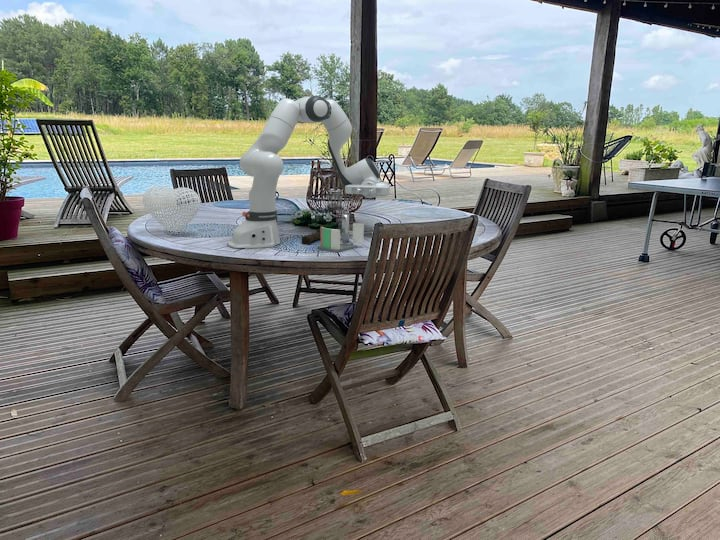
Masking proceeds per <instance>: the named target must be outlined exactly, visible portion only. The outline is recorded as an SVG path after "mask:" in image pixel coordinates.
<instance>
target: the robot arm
mask: <svg viewBox="0 0 720 540" xmlns="http://www.w3.org/2000/svg"><path fill="white" fill-rule="evenodd" d="M319 122H320V123H321V124H322V125H323V126H324V129H325V131H326V132H327V134H328V138H329V139H328V140H327V148H328V150H329V151H328V152H329V154H330V156H331V159H332V161H333V164H334V166H335V169H336V171H337V174H338V178H339V181H340V183H341V185H342V186H343V187H344V193H345V194H346V195H350V194H351V195H362V196H363V197H364V198H366V199H374V198H378V197H389V196H390V194H391V193H390V192H391V191H390V183H389V181H383V180H382V179H381V177H380V176H381V173H380V172H381V171H380V168H379V167H378V165H377V164H376V162H375V161H374V159H373V160H372V159H370V158H367V157H365V158H363V159H361V160H360V161H359V160H358V162H356V163H354V164H352V165H350V166H348V167H347V166H345V163H344V160H343V158H342V156H341V150H342V148H343V147H344V145H346V143H347V142H348V141H349V139H350V138H351V135H352V132H353V126H352V123H351V122H350V119H349V118H348V115H347V114H346V112H345V111H344V110H343V108H342V107H341V106H340V105H339V104H338V103H337V101H336V100H334V99H332V98H329V99H325V97H322V96H319V95H312V96H303V97H301V98H297V99H295V100H294V99H292V98H283V99H281V100H280V101H279V102H278V103H277V105H276V106H275V107H274V109H273V110H272V112H271V114H270V116H269V118H268V119H267V121H266V124H265V125H264V127H263V129H262V131H261V133H260V135H259V136H258V137H257V138H256V140H255V141H254V142H253V144H251V146H250V148H249V149H248V150H247V151H246V152H244V153H243V154H242V155H241V156H240V158H239V167H240V169H241V170H242V172H243V173H245V174H246V175H247V176H249V177H253V180H252V186H251V188H250V190H249V192H248V204H249V207H248V208H249V210H248V211H247V212H246V211H244V210H243V211H242V217H244V218H245V220H244V221H243V222H242V223H240V224H238V226H236V228H235V229H234V230H233V233H232V238H231V239H232V240H227V243H228V245H229V246H231V247H234V248H233V249H235V248H245V249H259V248H260V249H261V248H262V249H263V248H273V247H275V246H277V245H280V244H281V243H282V241H281V239H280V235H279V229H278V210H277V208H276V207H277V203H276V202H277V201H276V193H277V185H278V182H279V178H280V176H281V175H282V173H283V171H284V168H285V167H284V162H283V159H282V158H281V156H279V155H278V154H279V153H280V152H281V151H282V150H283V149H285V147H286V145H287V144H288V142H289V139H290V138H291V135H293V132H294V129H295V128H296V125H298V123H299V124H314V123H319ZM228 245H227V246H228ZM229 246H228V247H229ZM231 247H230V248H231Z"/></svg>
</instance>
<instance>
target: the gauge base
mask: <svg viewBox="0 0 720 540" xmlns="http://www.w3.org/2000/svg"><path fill="white" fill-rule="evenodd" d="M319 229H320V238H321V239H320V245H317V246H316V249H317V250H322V251H326V252H330V251H331V252H330V253H337V254H338V253H341V252H346V251H349V250H354V249H357V248H358V245H357V244H354V243H353V241H349V242H342V240H341V229H338V228H336V229H335V228H329V227H328V228H327V227H324V226H320V228H319ZM353 248H354V249H353Z"/></svg>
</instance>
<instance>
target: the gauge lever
mask: <svg viewBox="0 0 720 540" xmlns="http://www.w3.org/2000/svg"><path fill="white" fill-rule="evenodd" d="M336 223H338V224H340V223H341V241H342V242H350V236H352V242H353V244H354V243H356V244H364V241H365V240H364V239H365V237H364V235H365V224H364V223H360V222H357V223H355V222H353V223H352V230H350V214H347V213H345V214H341V218H339V219H337V220H336Z"/></svg>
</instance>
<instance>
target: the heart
mask: <svg viewBox="0 0 720 540" xmlns="http://www.w3.org/2000/svg"><path fill="white" fill-rule="evenodd" d="M142 202H143V206H144V208H145V210H146V211H147V213H148V214H149V215H150V216H151V217H152V218H153V219H154V220H155V221H157V223H159V225H161V227H163V229H164V230H166V232H168V231H170V232H171V231H173V232H174V230H175V231H176V232H180V231H181V232H182V231H183V230H184V228H186V226H187V225H188V224H189V223H190V222H191V221H192V220H193V219H194V218H195V216H196V215H197V214H198V211H199V210H200V207H201V199H200V197H199V194H198V193H197V192H196V191H195V190H193V189H191V188H189V187H184V186H183V187H177V188H173V189H172V188H170V187H168V186H164V185H154V186H152V187H150V188H148V189H147V190H146V191H145V192H144V194H143V198H142ZM159 205H160V206H159ZM177 230H178V231H177ZM181 232H180V233H181Z"/></svg>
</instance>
